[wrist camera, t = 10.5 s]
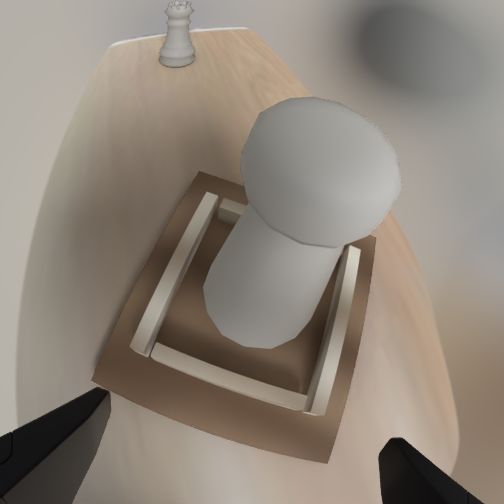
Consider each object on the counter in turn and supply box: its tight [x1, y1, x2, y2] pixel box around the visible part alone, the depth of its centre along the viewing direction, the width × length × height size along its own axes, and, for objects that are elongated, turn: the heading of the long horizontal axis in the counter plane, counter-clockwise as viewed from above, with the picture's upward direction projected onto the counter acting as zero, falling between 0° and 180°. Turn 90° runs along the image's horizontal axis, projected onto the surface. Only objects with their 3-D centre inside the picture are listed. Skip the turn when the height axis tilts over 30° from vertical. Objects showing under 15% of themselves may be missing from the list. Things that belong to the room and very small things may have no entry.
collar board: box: [91, 171, 376, 464], centre depth 18 cm, size 16×14×2 cm
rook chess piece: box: [159, 1, 195, 68], centre depth 28 cm, size 4×4×8 cm
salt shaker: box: [203, 97, 402, 349], centre depth 13 cm, size 6×6×13 cm
